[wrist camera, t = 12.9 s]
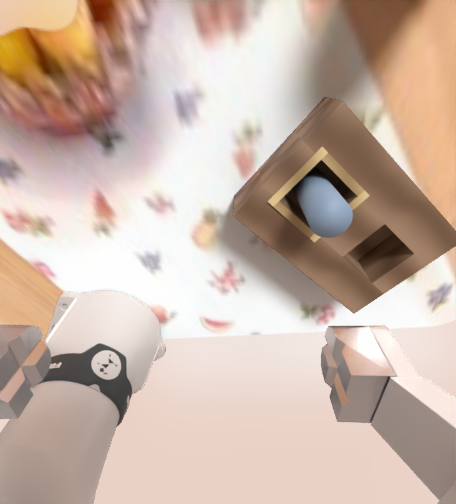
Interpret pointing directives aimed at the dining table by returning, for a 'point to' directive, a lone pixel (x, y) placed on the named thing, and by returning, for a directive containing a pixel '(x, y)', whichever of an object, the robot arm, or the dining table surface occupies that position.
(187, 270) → the dining table surface
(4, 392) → the robot arm
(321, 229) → the peg
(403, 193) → the socket block
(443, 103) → the dining table surface
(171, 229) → the dining table surface
